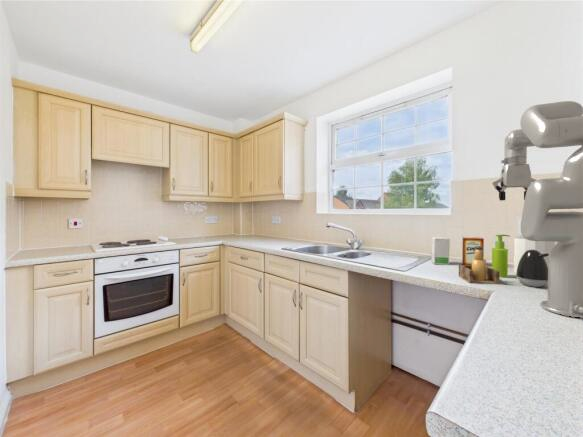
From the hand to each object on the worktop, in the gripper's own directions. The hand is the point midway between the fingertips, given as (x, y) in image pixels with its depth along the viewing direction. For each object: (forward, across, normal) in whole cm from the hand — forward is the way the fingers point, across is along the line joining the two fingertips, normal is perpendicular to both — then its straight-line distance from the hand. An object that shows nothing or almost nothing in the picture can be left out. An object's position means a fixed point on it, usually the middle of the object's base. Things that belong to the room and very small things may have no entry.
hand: (514, 200), depth 116 cm
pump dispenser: (+36, +2, -9) cm, 38 cm away
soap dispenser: (+36, -2, +6) cm, 37 cm away
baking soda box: (+36, -3, +31) cm, 48 cm away
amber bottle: (+36, -16, -4) cm, 39 cm away
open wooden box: (+36, -16, -4) cm, 40 cm away
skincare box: (+36, -20, +32) cm, 52 cm away
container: (+37, +15, +12) cm, 42 cm away
